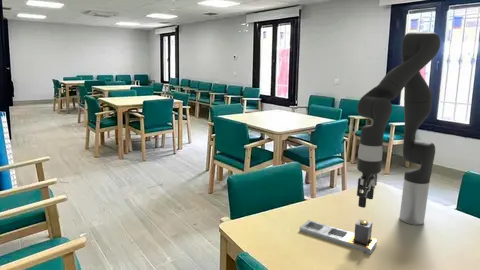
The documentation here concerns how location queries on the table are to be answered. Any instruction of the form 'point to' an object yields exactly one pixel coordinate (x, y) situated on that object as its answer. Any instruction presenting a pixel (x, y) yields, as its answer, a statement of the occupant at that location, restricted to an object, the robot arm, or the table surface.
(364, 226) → the dark gray block
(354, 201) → the table surface
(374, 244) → the white slotted tray
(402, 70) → the robot arm
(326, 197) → the table surface
